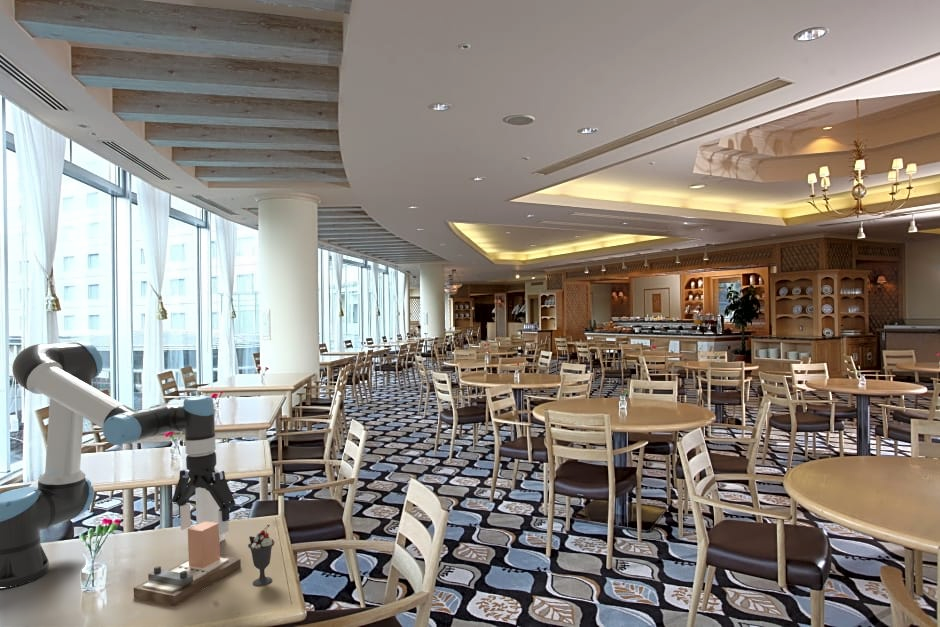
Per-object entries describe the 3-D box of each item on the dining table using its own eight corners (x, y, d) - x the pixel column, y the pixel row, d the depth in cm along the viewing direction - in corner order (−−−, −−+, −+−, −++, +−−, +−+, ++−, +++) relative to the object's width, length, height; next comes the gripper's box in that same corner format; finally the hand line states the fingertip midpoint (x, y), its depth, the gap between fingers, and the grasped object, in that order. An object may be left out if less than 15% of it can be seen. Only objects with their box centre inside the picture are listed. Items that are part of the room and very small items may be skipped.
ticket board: (133, 597, 146) (133, 574, 146) (202, 561, 167) (201, 541, 167) (175, 606, 141) (174, 582, 141) (240, 567, 162) (240, 547, 162)
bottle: (200, 549, 176) (197, 450, 176) (194, 541, 182) (190, 446, 182) (228, 541, 181) (224, 446, 181) (220, 534, 187) (217, 442, 187)
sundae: (280, 581, 153) (278, 525, 153) (255, 590, 148) (253, 532, 148) (269, 573, 158) (267, 518, 157) (245, 582, 153) (243, 525, 153)
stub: (179, 567, 157) (178, 529, 157) (201, 556, 164) (200, 519, 164) (207, 572, 153) (206, 533, 153) (229, 560, 161) (228, 523, 160)
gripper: (246, 452, 158) (250, 529, 158) (178, 447, 167) (181, 521, 167) (226, 458, 151) (229, 540, 151) (155, 454, 160) (159, 530, 160)
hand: (204, 530), depth 159 cm, fingers open, 13 cm apart
